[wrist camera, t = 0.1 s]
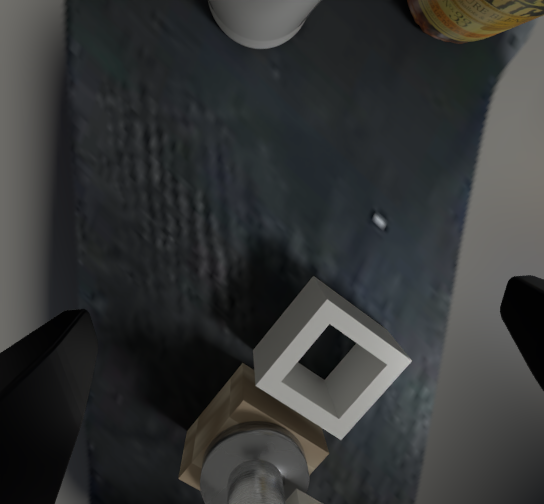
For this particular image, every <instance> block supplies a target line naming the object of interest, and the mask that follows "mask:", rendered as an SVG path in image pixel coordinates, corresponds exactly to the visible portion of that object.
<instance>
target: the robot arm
mask: <svg viewBox="0 0 544 504" xmlns="http://www.w3.org/2000/svg"><path fill="white" fill-rule="evenodd" d="M500 313H501V317H502V320H503V322H504V323H505V325H506V327H507V329H508V331H509V332H510V334H511V336H512V338H513V340H514V342H515V343H516V345H517V347H518V349H519V351H520V352H521V354H522V356H523V358H524V360H525V362H526V363H527V365H528V367H529V369H530V371H531V372H532V374H533V376H534V377H535V379H536V380H537V382H538V383H539V385H540V387H541V388H542V389H543V391H544V279H541V278H538V277H535V276H531V275H528V276H516V277H515V276H514V277H512V278H511V279H510V280H509V281H508V283H507V286H506V290H505V293H504V297H503V300H502V303H501V306H500ZM97 353H98V340H97V336H96V333H95V330H94V327H93V324H92V320H91V317H90V314H89V313H88V311H87V310H85V309H76V310H66V311H63V312H62V313H60V314H59V315H57V316H56V317H54V318H53V319H51V320H50V321H48V322H47V323H45V324H44V325H42V326H41V327H39V328H38V329H36V330H35V331H33V332H32V333H30V334H29V335H27V336H25V337H24V338H22V339H21V340H20V341H18V342H16V343H15V344H14V345H12V346H11V347H9V348H7V349H6V350H4V351H3V352H1V353H0V504H55V501H56V498H57V495H58V492H59V489H60V487H61V484H62V481H63V478H64V475H65V472H66V469H67V466H68V463H69V460H70V457H71V454H72V451H73V448H74V445H75V442H76V439H77V436H78V433H79V430H80V427H81V424H82V421H83V417H84V413H85V409H86V404H87V400H88V395H89V390H90V386H91V381H92V376H93V371H94V367H95V362H96V357H97Z"/></svg>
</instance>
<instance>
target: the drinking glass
mask: <svg viewBox="0 0 544 504" xmlns="http://www.w3.org/2000/svg"><path fill="white" fill-rule="evenodd" d="M207 1H208V5H209V8H210V10H211V13H212V15H213V17H214V19H215V21H216V23H217V24H218V26H219V27H220V28H221V29H222V31H223V32H224V33H225V34H226V35H227V36H228V37H230V38H231V39H232V40H234V41H235V42H237V43H239V44H241V45H243V46H246V47H249V48H254V49H268V48H273V47H276V46H279V45H281V44H283V43H285V42H286V41H288V40H289V39H291V38H292V37H293V36H294V35H295V34H296V33H297V32H298V31H299V30H300V28H301V27H302V25H303V24H304V22H305V21H306V19H307V17H308V15H309V14H310V13H311V12H312V11H313V9H314V8H315V7H316V6H317V5H318V4H319V2H320V1H321V0H207Z"/></svg>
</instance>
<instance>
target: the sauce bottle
mask: <svg viewBox="0 0 544 504" xmlns="http://www.w3.org/2000/svg"><path fill="white" fill-rule="evenodd" d="M407 2H408V6H409V8H410V12H411V14H412V16H413V17H414V21H415V23H416V24H418V25H420V27H421V29H422V31H423V32H424V33H427V34H428V35H430V36H432V37H434V38H436V39H440V40H443V41H445V42H453V43H458V44H462V43H466V42H468V41H477V40H481V39H485V38H488V37H490V36H493V35H495V34H498V33H501V32H503V31H506V30H508V29H511V28H513V27H516V26H518V25H520V24H523V23H525V22H528V21H530V20H533V19H535V18H538V17H540V16H543V15H544V0H407Z"/></svg>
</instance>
